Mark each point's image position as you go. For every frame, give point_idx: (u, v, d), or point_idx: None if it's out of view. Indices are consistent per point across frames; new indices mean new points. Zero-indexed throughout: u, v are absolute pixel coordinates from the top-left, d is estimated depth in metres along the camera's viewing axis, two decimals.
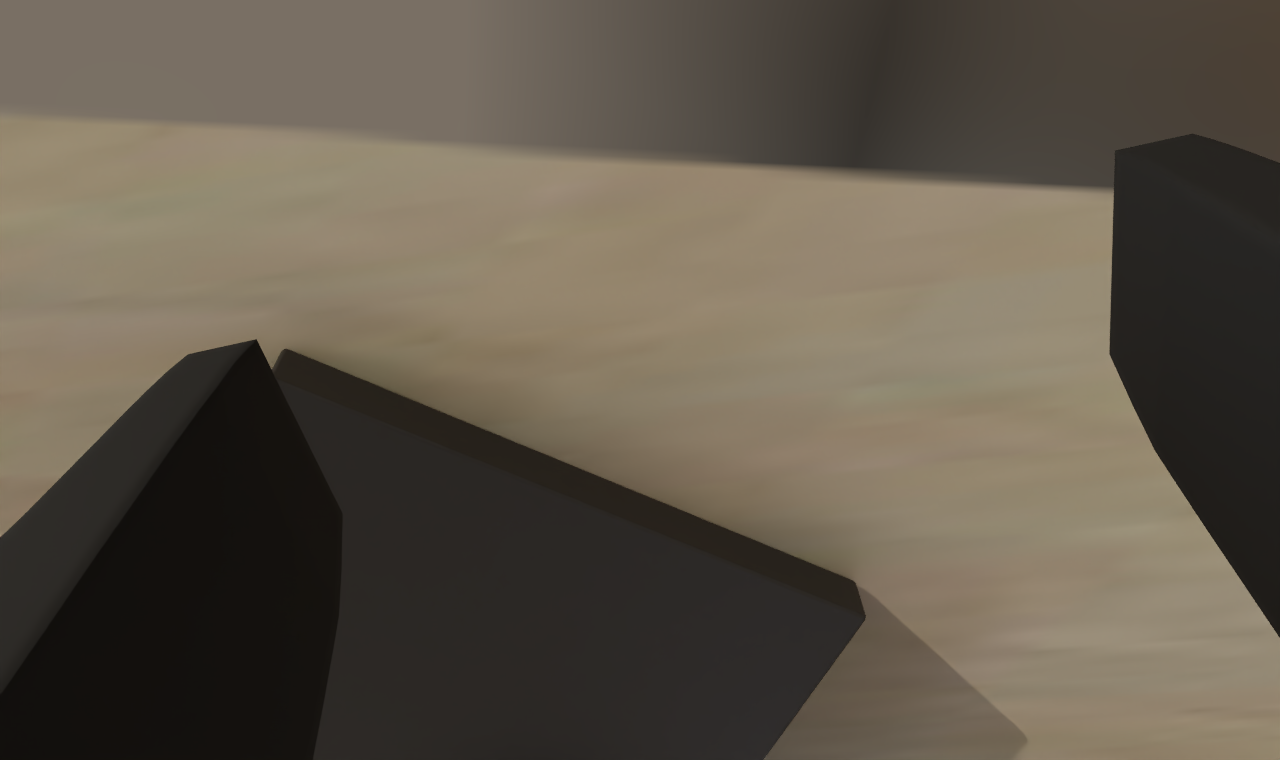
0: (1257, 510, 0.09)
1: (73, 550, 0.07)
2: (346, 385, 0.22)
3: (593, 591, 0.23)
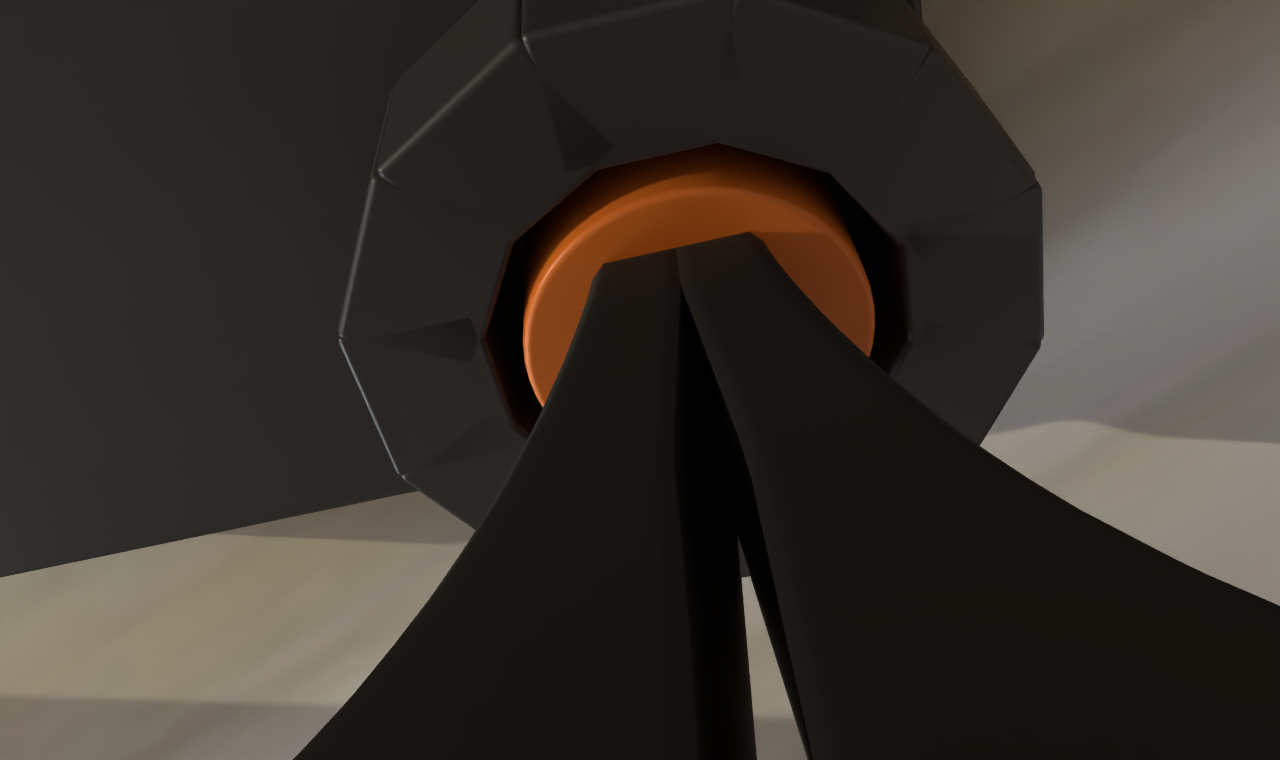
0: (766, 607, 0.09)
1: (641, 431, 0.07)
2: None
3: None
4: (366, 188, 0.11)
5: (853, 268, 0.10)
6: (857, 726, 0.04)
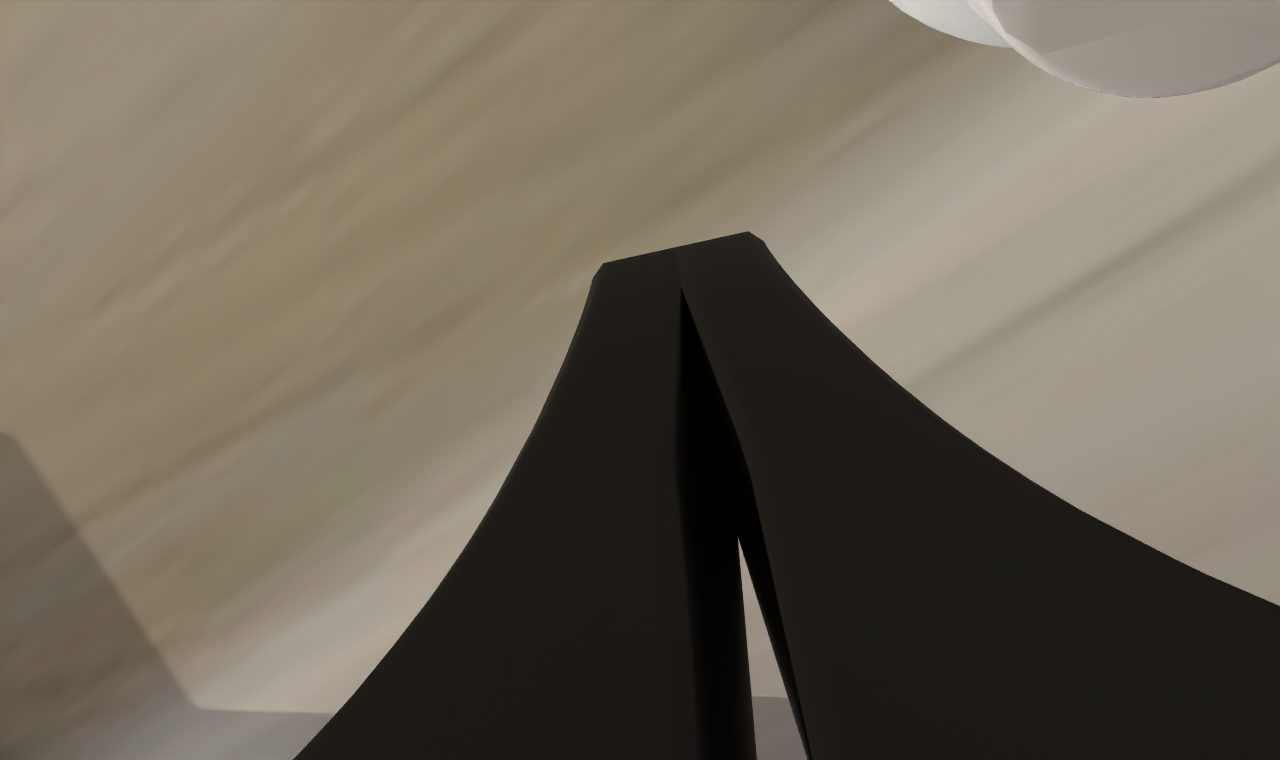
0: (766, 607, 0.09)
1: (641, 431, 0.07)
2: None
3: None
4: None
5: None
6: (857, 726, 0.04)
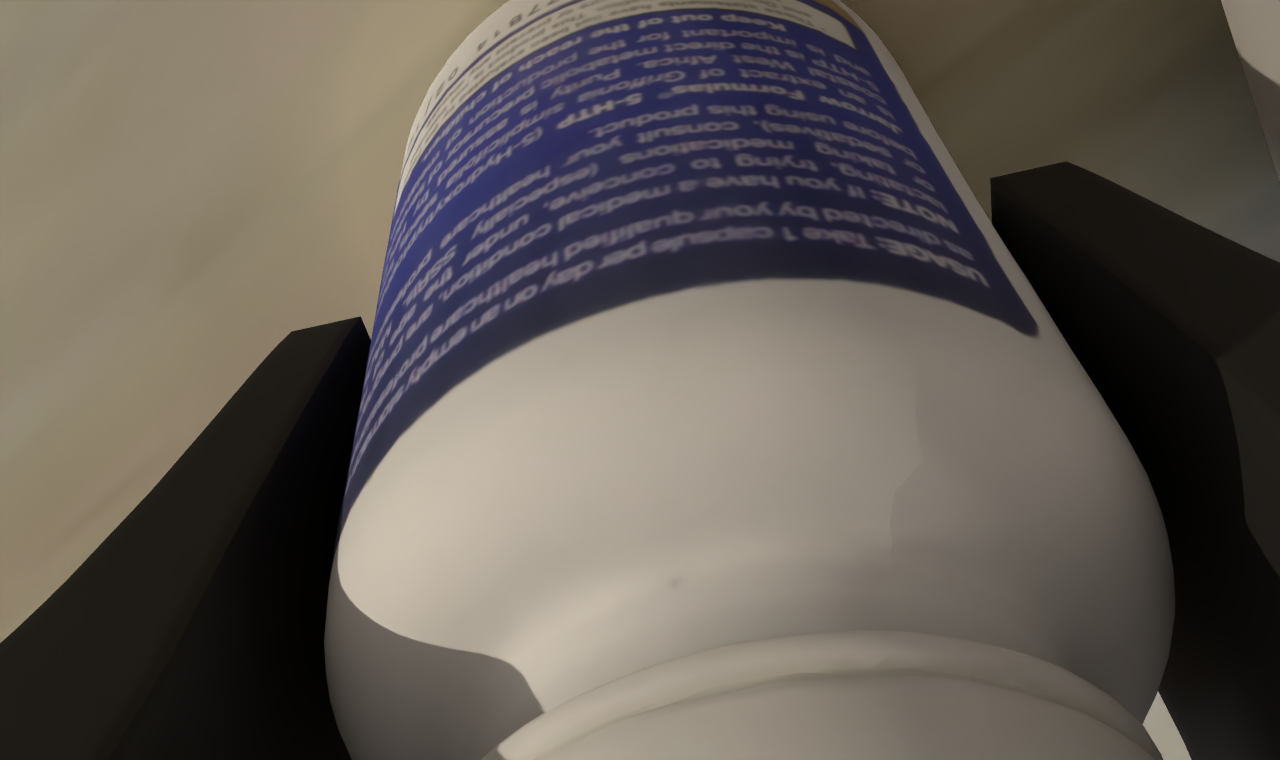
0: None
1: (214, 521, 0.07)
2: None
3: None
4: None
5: None
6: None
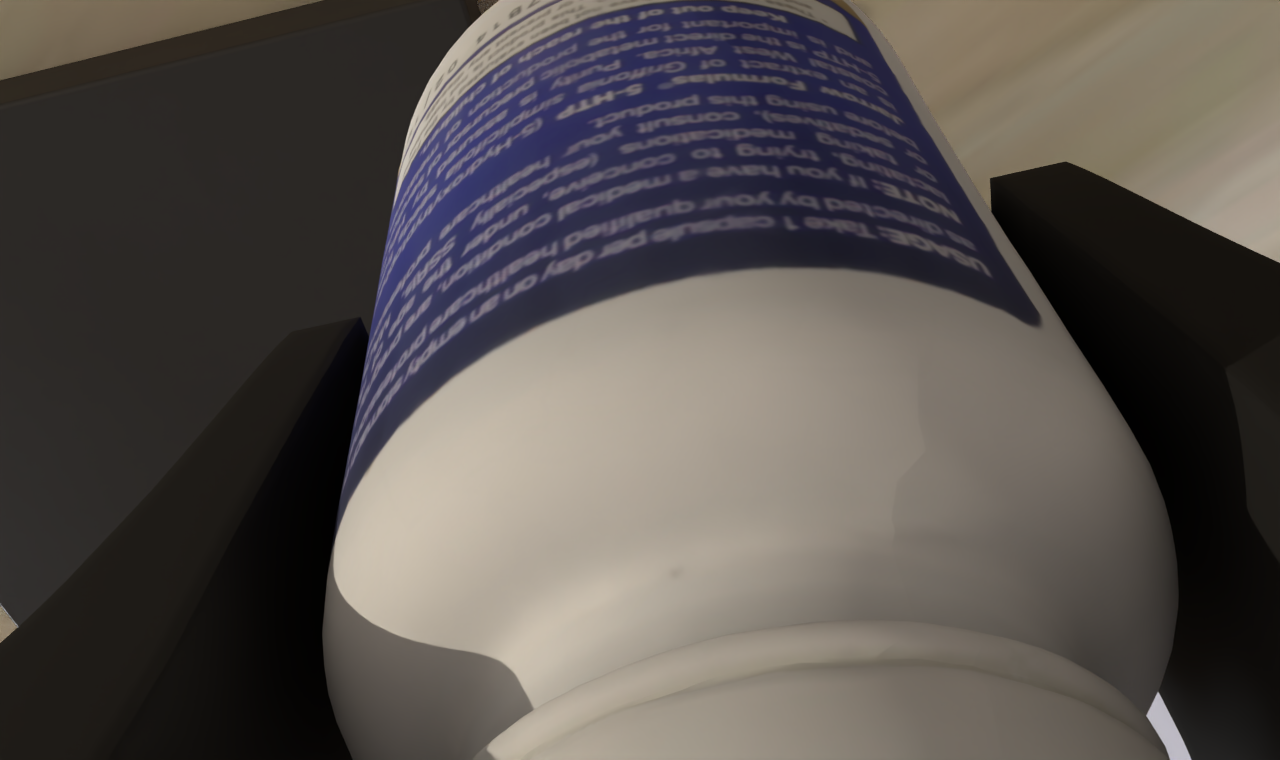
0: None
1: (214, 521, 0.07)
2: None
3: (169, 181, 0.18)
4: None
5: None
6: None
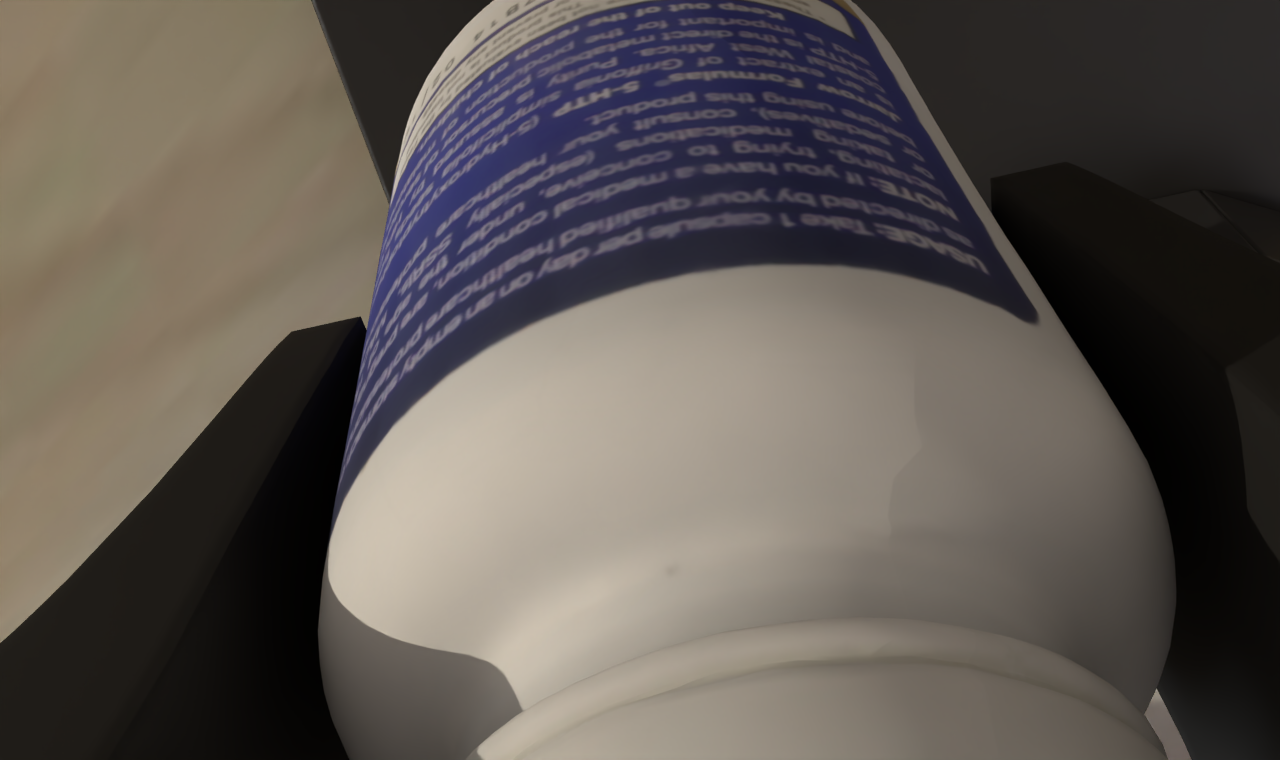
0: None
1: (214, 521, 0.07)
2: None
3: None
4: None
5: None
6: None
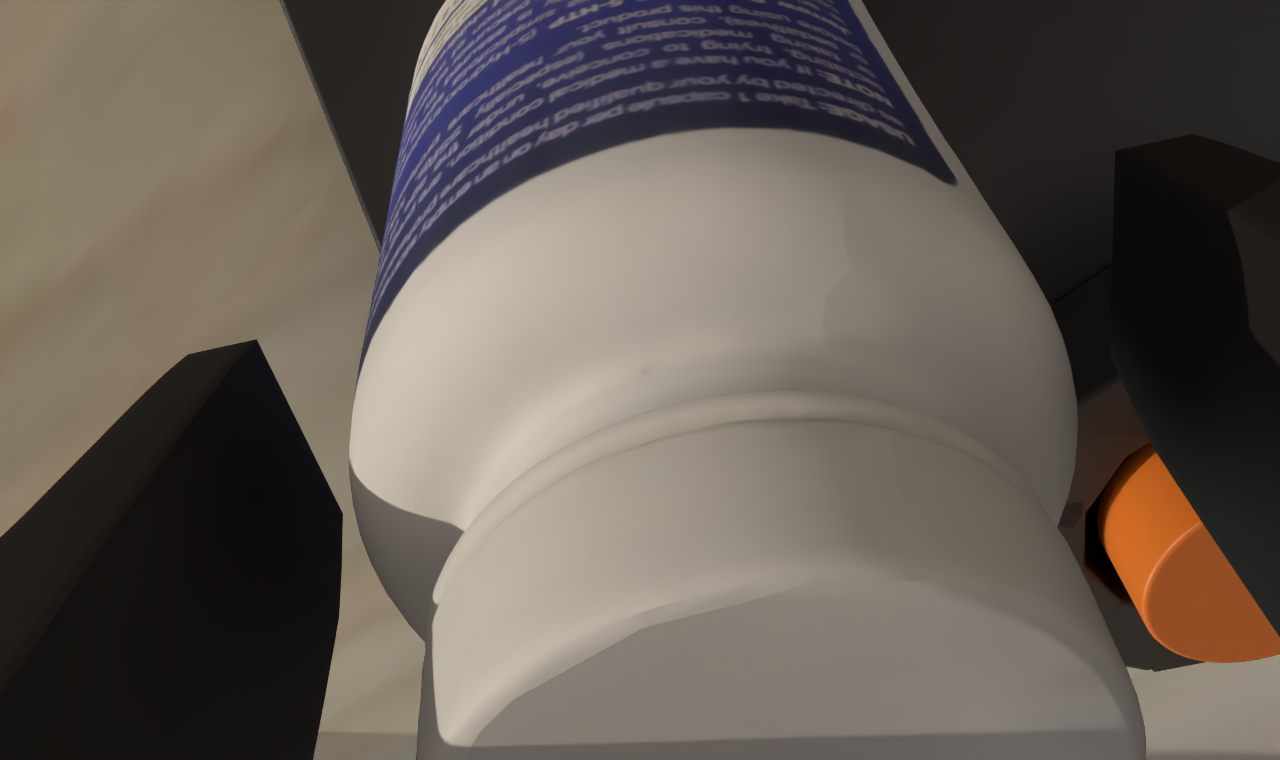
0: (1257, 510, 0.09)
1: (74, 550, 0.07)
2: None
3: None
4: None
5: None
6: None
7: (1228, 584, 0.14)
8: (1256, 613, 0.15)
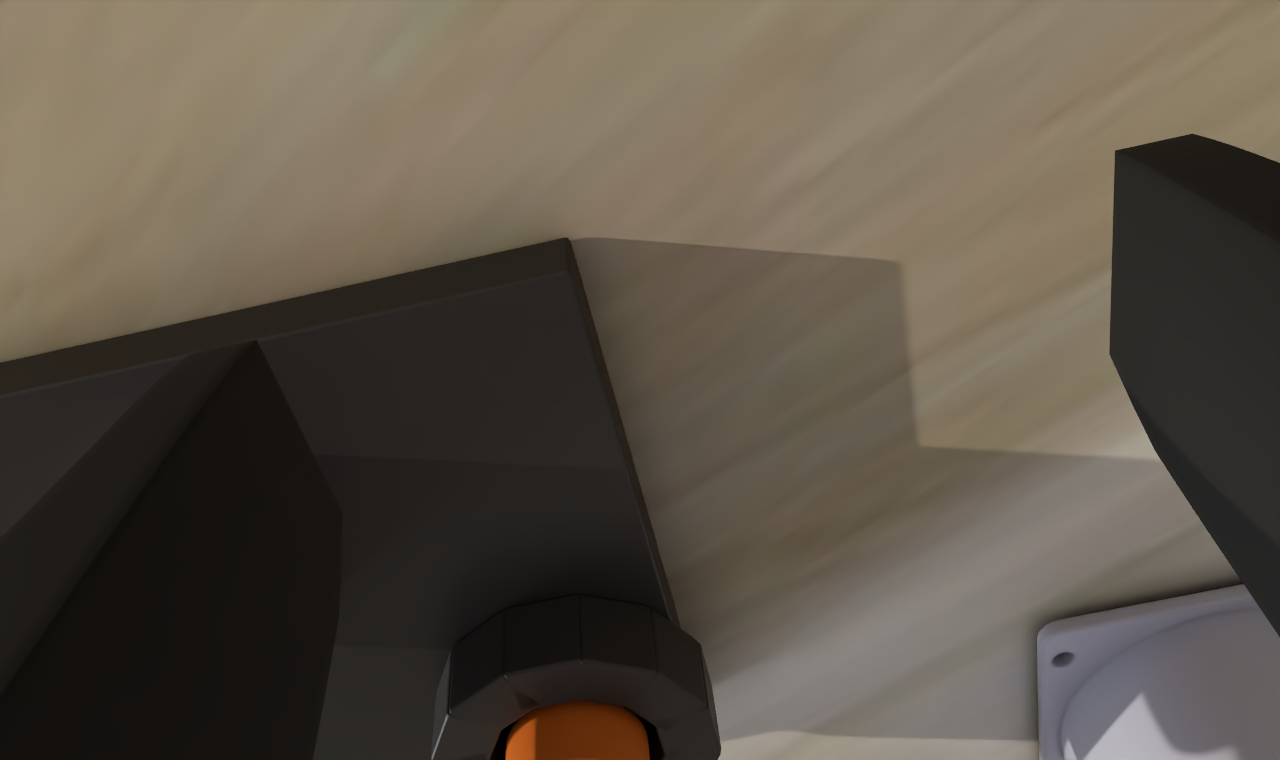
0: (1257, 510, 0.09)
1: (73, 550, 0.07)
2: None
3: (319, 408, 0.22)
4: (439, 677, 0.26)
5: None
6: None
7: None
8: None
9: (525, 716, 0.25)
